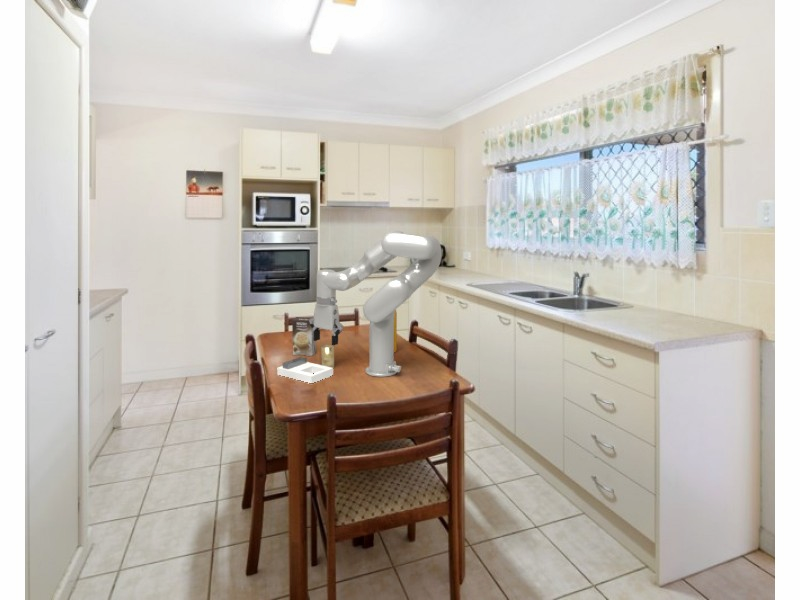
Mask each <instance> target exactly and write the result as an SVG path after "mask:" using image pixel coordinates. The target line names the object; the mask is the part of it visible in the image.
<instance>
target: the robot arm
mask: <svg viewBox="0 0 800 600" xmlns="http://www.w3.org/2000/svg"><path fill="white" fill-rule="evenodd" d="M442 256H443V252H442V246H441V242H440V241H439V239H438V238H437V237H435V236H433V235H430V234H426V235H417V234H409V233H404V232H403V231H400V230H393V231H389V232H387V233H385V234H384V236H383V237H382V239H381V240H379V241H378V242H377V243H376V244H374V245H373V246H372V245H371V247H370V248H367V250H366V251H365V252H364V254H363V256H362V257H360V259H359V260H358V261H356V262H355V263H353V264H352V265H351V266H349V267H348V268H346V269H344V270H341V271H335V270H333V269H319V270H317V272H316V303H315V306H314V312H313V313H314V314H313V316H312V317H310V318H311V319H309V322H310V324H311V325H310V326H311V327H312V331H314V337H313V340H314V341H316V342H317V341H319V340H321V331H320V329H321V330H326V331H330V332H331V334H332V335H331V345H333V346H337V345H338V344H339V335H340V334H341V333H342V331H343V328H344V325H343V324H342V323H341V322H340V313H339V306H338V304H337V303H338V299H337V291H339V292H345V291H348V290H350V289H352V288H353V287H356V286H358V285H359V284H360V283H361V282H363V281H364V280H366V279H367V278H368V277H370V276H371V275H373V274H374V273H376V272H377V271H379V270H380V269H382V267H384V266H386V265H387V264H388V263H390V262H391V261H393V260H394V259H396V258H397V257H398V258H399V257H400V258H406V259H414V261H413V262H412V263H411V264H410V265H408V266H407V268H406V269H405V270H403V271H402V272H401V273H399V275H397V276H395V277H393V278H391V279H390V280H387V282H386V283H384V284H383V285H382V286H381V287H380V288H379V289H378V290H377V291H376V292H374V293H373V294H372V295H371V296H370V297H369V298H368V299H367V300H366V301H365V302H364V304H363V307H362V312H363V315H364V317H365V319H366V320H368V321H369V328H368V329H369V336H368V337H369V343H368V344H369V345H368V346H369V366H367V367H366V368H365V373H366V374H367V375H369V376H372V377H379V378H380V377H382V378H383V377H390V376H395V375H396V374H397V373H400V372H401V370H402V366H401V365H397V362H396V360H394V354H395V353H394V316H395V310H396V311H397V309H398V308H399V307H400V306H401V305H402V304H404V303H405V302H406V301H407V300H408V299H409V298H410V297H411V296H412V295H413V294H414V293H415V292H416V291H417V290H418V289H419V288H420V287H421V286H423V285H424V284H425V282H427V281H428V280H429V279H430V278H431V277H432V276H434V274H435V272H437V270H438V268H439V266H440V264H441V261H442Z"/></svg>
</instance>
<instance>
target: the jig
mask: <svg viewBox="0 0 800 600" xmlns="http://www.w3.org/2000/svg"><path fill="white" fill-rule="evenodd" d="M276 373H277V376H279V375H281V376H280V377H282V376H285V377H284V378H286V377H289V378H288V379H290V378H293V379H292V380H294V379H296V380H295V381H297V380H301V381H304V382H303V383H305V382H308V383H307V384H309V383H314V382H316V383H318V382H317V381H319V382H321V381H323V380H326V379H328V378H330V376H331V377H333V376H334V369H333V368H331V367H327V366H322V364H318V363H312V362H309V361H308V360H307V357H305V356H300V357H296V358H294V359H290V360H288V361H287V360H286V361H285V362H282V365H281V366H279V367H277V368H276ZM313 373H314V374H313ZM332 375H333V376H332ZM325 378H326V379H325ZM322 379H323V380H322ZM320 380H321V381H320ZM301 381H300V382H301ZM314 384H315V383H314Z"/></svg>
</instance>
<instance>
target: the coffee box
mask: <svg viewBox="0 0 800 600" xmlns="http://www.w3.org/2000/svg"><path fill="white" fill-rule="evenodd" d="M311 318H312V317H299V316H297V317H295V318H293V319H292V320H291V321H292V322H291V325H292V326H291V328H292V355H293V356H301V355H306V356H307V357H313V355H315V353H316V346H317V344H316V343H317V341H314V340H313V337H314V331H312V327H311V326H310V325H311V324H310V322H309V319H311ZM306 356H305V357H306Z"/></svg>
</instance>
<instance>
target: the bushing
mask: <svg viewBox="0 0 800 600" xmlns="http://www.w3.org/2000/svg"><path fill="white" fill-rule="evenodd" d="M320 347H321V348H320V349H321V365H322V366H327V367H331V368H334V369H335V345H332V344H324V345H322V346H320Z"/></svg>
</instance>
